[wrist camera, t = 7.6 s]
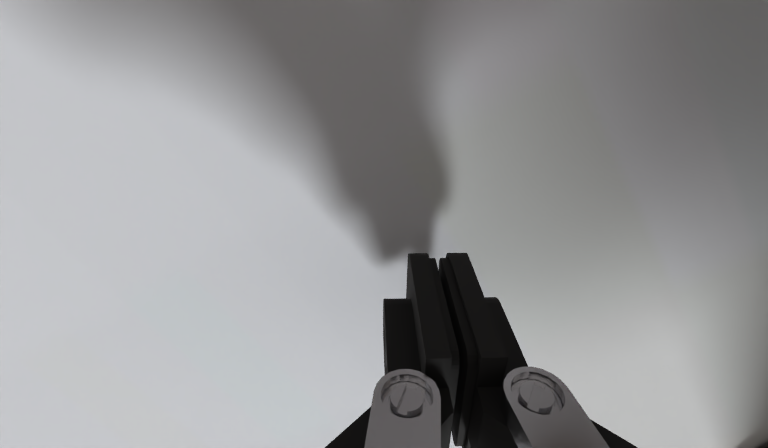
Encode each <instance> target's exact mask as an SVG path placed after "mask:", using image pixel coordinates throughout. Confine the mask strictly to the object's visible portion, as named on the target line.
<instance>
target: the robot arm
mask: <svg viewBox="0 0 768 448" xmlns="http://www.w3.org/2000/svg"><path fill="white" fill-rule="evenodd" d="M383 340H384V367H385V375H384V376H383V377H382V378H381V379H380V380H379V381H378V383H377V384H376V387H375V390H374V393H373V399H372V405H371V407H370V408H369V409H368V410H367V411H366V412H364V413H363V414H362V415H361V416H360V417H359V418H358V419H357V420H355V421H354V422H353V423H352V424H351V425H350V426H349V427H348V428H346V429H345V430H344V431H343V432H342V433H341V434H340V435H339V436H337V437H336V438H335V439H334V440H333V441H332V442H331V443H330V444H328V445H327V446H326V447H325V448H449V444H450V437H451V431H452V436H453V441H454V444H455V446H462V448H637V447H636V446H634V445H632V444H631V443H629V442H627V441H626V440H624V439H622V438H621V437H619V436H617V435H616V434H614V433H612V432H611V431H609V430H607V429H606V428H604V427H602V426H600V425H599V424H597V423H595V422H594V421H592V420H590V419H589V417H588V416H587V414H586V413H585V412H584V410H583V409H582V407H581V406H580V404H579V403H578V402H577V400H576V399H575V397H574V396H573V394H572V393H571V391H570V390H569V389H568V387H567V386H566V385H565V384H564V383H563V382H562V381H561V380H560V379H559V378H558V377H556V376H555V375H553V374H552V373H550V372H548V371H545V370H543V369H540V368H536V367H528V365H527V363H526V361H525V358H524V356H523V354H522V351H521V349H520V347H519V345H518V342H517V340H516V338H515V335H514V333H513V331H512V329H511V326H510V324H509V322H508V319H507V317H506V315H505V312H504V310H503V308H502V306H501V303H500V301H499V300H498V298H496V297H488V298H484V295H483V292H482V290H481V287H480V285H479V282H478V280H477V277H476V275H475V272H474V269H473V267H472V264H471V262H470V259H469V257H468V254H467V253H447V255H446V258H440V261H439V271H438V267H437V263H436V260H435V258H429V256H428V254H427V253H414V254H408V268H407V292H406V299H384V302H383Z"/></svg>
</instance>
